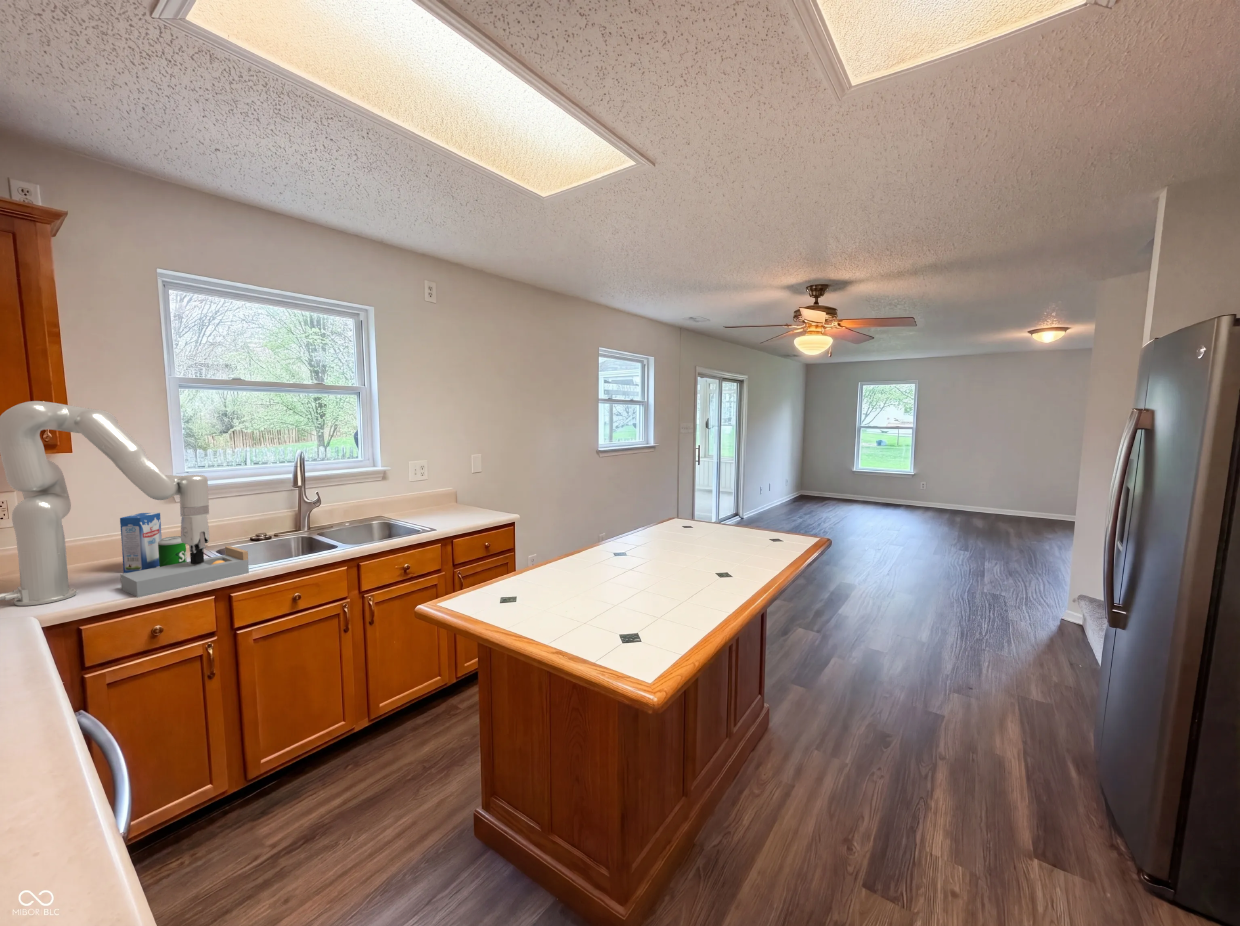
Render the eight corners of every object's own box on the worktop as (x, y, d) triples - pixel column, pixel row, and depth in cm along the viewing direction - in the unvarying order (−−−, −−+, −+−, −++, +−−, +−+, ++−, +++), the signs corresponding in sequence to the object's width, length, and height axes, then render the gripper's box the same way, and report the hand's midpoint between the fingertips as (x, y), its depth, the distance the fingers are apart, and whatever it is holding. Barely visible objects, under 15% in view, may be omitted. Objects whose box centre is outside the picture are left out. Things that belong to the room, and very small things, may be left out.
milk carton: (144, 565, 188) (141, 512, 186) (163, 564, 189) (160, 512, 187) (123, 573, 178) (119, 517, 176) (143, 572, 179) (140, 517, 177)
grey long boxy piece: (137, 597, 154) (136, 572, 154) (121, 589, 161) (120, 565, 161) (248, 572, 180) (247, 551, 179) (230, 566, 187) (229, 545, 186)
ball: (218, 578, 176) (210, 567, 174) (211, 576, 178) (204, 565, 176) (233, 569, 180) (226, 558, 178) (226, 567, 182) (219, 556, 180)
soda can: (174, 573, 178) (172, 540, 177) (153, 573, 178) (151, 540, 177) (192, 567, 186) (190, 535, 185) (172, 567, 186) (171, 535, 185)
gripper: (171, 510, 172) (174, 562, 173) (190, 514, 164) (193, 569, 166) (198, 507, 178) (201, 557, 180) (218, 511, 171) (220, 564, 172)
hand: (197, 563), depth 173 cm, fingers closed
